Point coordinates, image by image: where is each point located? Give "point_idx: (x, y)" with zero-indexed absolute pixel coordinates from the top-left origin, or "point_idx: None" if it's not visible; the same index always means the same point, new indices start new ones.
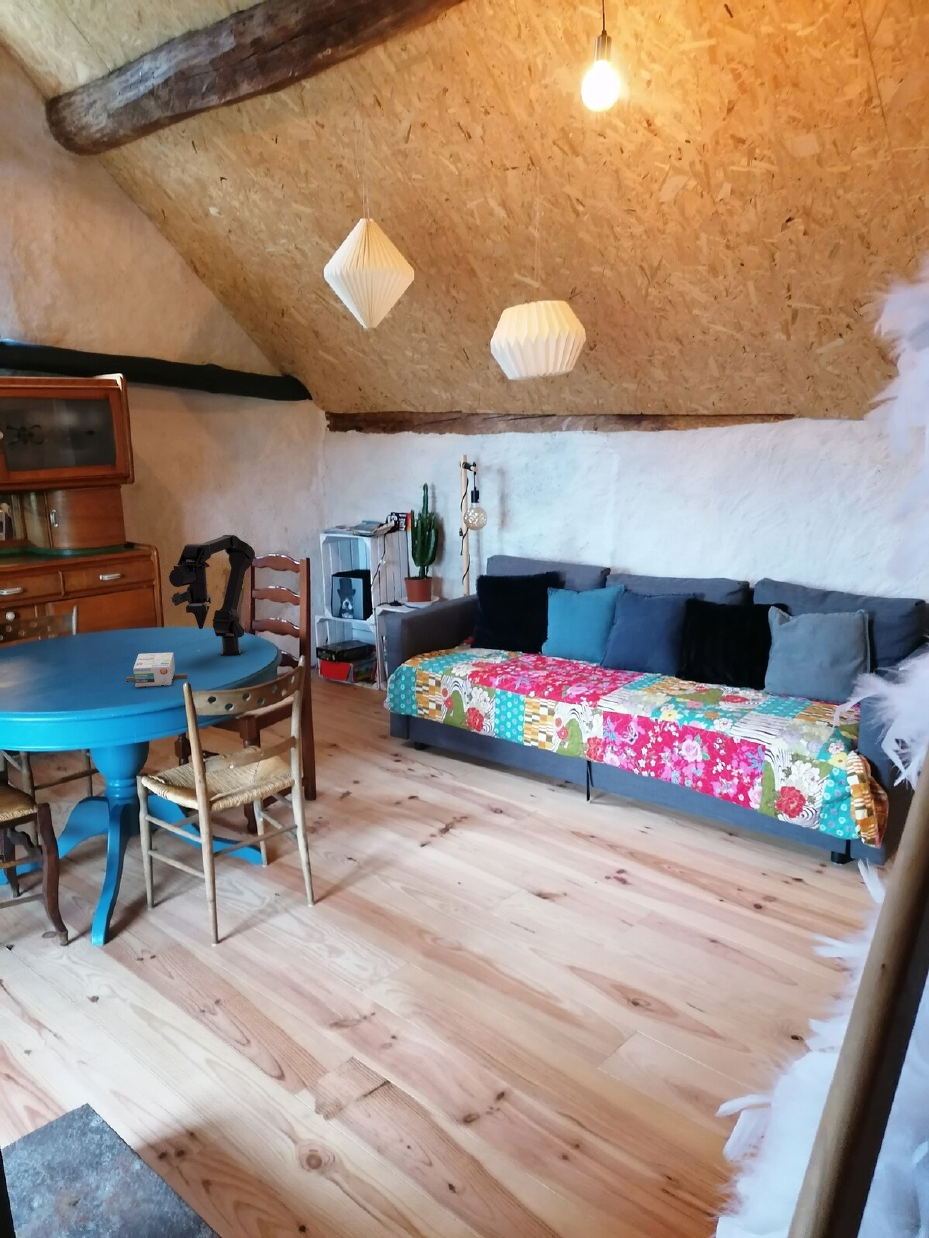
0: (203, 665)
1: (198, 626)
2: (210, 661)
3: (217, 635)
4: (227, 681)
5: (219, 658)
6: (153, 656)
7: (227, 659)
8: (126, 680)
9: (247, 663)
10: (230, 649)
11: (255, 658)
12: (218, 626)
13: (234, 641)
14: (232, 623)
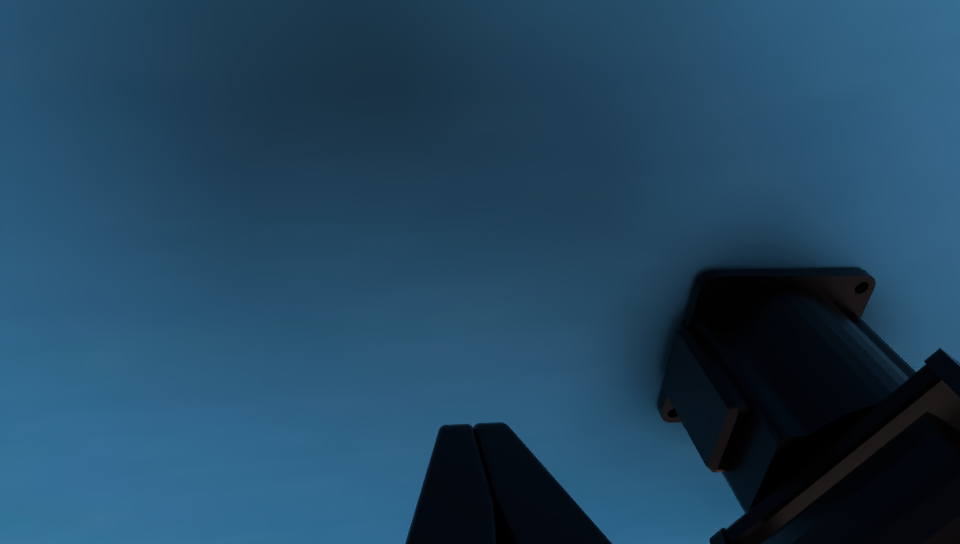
0: (323, 125)
1: (427, 473)
2: (498, 187)
3: (930, 371)
4: None
5: (598, 263)
6: None
7: (528, 334)
8: None
9: (324, 488)
10: (684, 391)
11: None
12: (891, 537)
13: (730, 482)
14: None
